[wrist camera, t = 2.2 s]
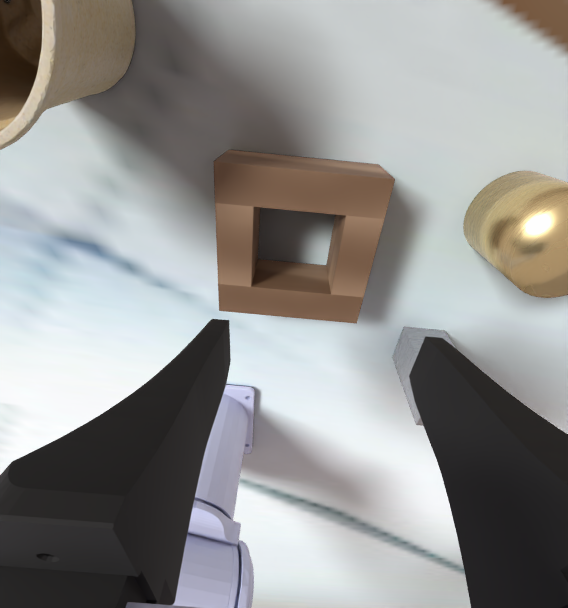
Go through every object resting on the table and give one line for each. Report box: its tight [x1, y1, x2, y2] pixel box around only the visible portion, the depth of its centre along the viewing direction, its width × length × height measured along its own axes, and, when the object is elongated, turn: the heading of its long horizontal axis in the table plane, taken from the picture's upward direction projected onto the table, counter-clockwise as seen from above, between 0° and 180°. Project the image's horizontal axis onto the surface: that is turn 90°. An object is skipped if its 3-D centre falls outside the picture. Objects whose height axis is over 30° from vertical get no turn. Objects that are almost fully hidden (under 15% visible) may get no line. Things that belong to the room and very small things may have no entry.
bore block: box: [214, 150, 395, 323], centre depth 17 cm, size 8×8×4 cm
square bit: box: [392, 327, 455, 426], centre depth 21 cm, size 3×3×6 cm
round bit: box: [463, 171, 568, 298], centre depth 16 cm, size 5×5×5 cm
